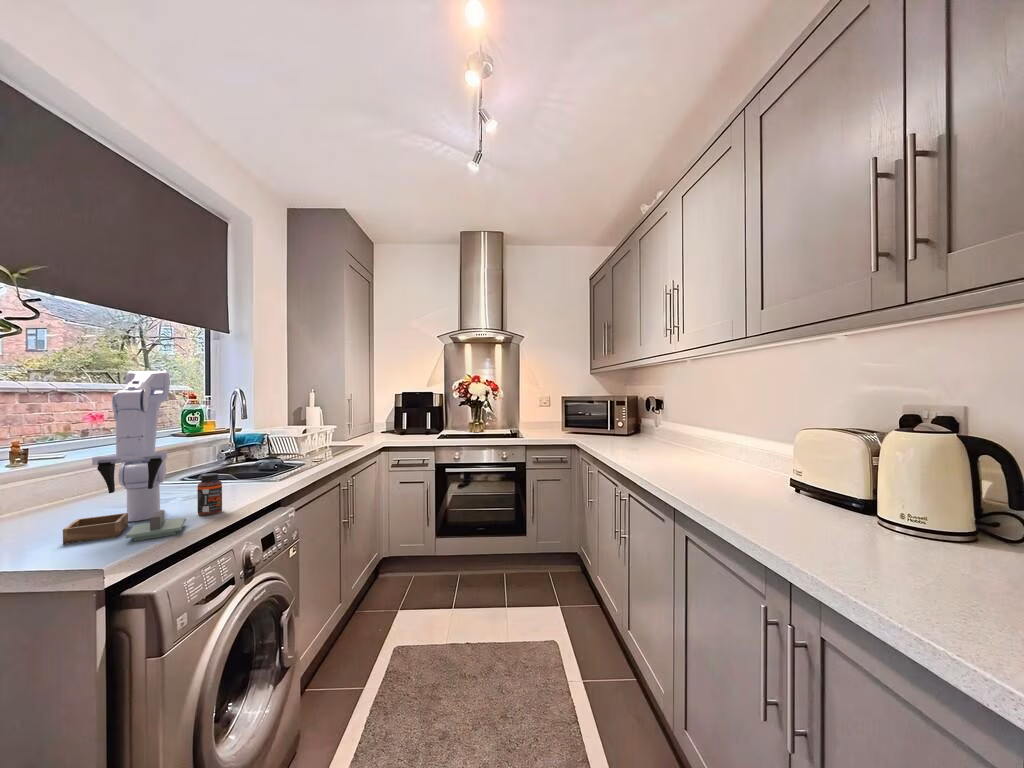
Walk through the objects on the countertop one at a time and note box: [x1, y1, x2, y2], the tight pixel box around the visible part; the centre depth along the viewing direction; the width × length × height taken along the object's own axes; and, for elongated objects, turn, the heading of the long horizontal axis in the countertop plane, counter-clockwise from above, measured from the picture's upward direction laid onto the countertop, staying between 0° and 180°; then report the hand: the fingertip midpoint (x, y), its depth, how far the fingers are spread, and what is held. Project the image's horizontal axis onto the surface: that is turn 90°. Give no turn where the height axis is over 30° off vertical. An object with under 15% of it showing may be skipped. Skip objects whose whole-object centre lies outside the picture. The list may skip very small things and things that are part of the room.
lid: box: [125, 509, 187, 542], centre depth 112 cm, size 10×10×5 cm
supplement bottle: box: [197, 472, 223, 516], centre depth 130 cm, size 6×6×11 cm
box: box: [62, 512, 129, 545], centre depth 112 cm, size 10×10×4 cm
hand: (131, 490), depth 114 cm, fingers open, 7 cm apart
